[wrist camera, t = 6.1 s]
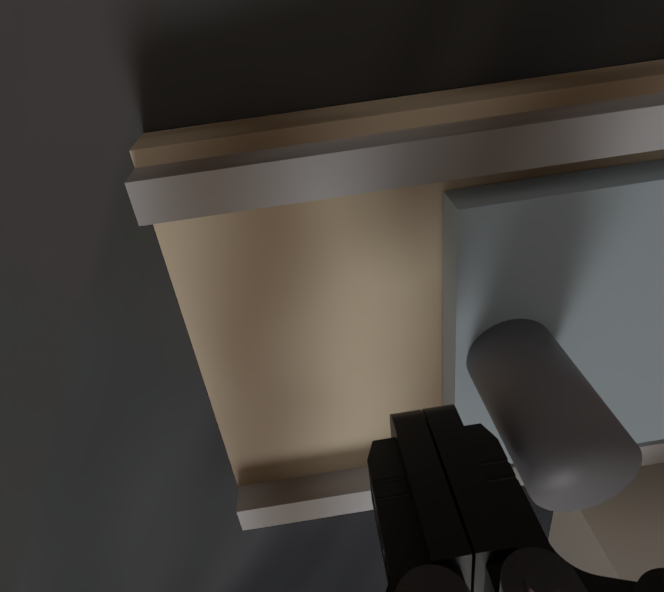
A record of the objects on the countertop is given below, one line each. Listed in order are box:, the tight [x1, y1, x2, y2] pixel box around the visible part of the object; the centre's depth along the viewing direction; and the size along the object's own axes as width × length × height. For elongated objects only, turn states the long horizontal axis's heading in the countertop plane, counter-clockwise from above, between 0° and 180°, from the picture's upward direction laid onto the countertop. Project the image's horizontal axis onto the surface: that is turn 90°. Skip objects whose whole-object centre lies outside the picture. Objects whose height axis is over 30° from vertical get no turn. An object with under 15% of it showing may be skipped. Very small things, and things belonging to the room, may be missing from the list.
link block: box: [548, 462, 664, 582], centre depth 21 cm, size 5×7×6 cm
